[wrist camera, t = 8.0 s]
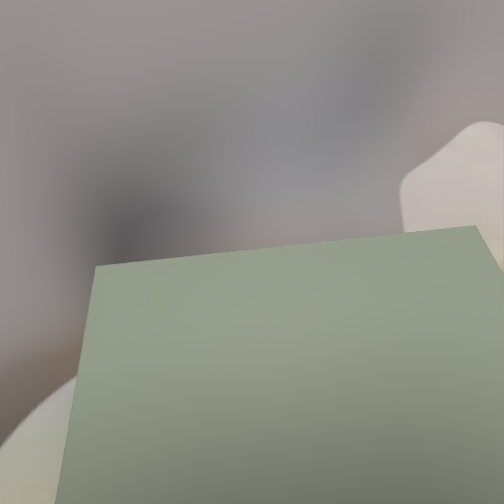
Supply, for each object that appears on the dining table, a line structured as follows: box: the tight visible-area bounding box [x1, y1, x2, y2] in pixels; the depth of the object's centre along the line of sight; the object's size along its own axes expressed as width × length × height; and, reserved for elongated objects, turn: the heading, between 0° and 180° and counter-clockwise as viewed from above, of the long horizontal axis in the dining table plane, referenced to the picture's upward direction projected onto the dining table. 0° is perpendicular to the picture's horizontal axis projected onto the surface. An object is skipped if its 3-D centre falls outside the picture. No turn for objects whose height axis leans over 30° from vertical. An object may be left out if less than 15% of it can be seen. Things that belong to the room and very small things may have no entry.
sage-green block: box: [55, 225, 504, 504], centre depth 8 cm, size 5×5×13 cm
